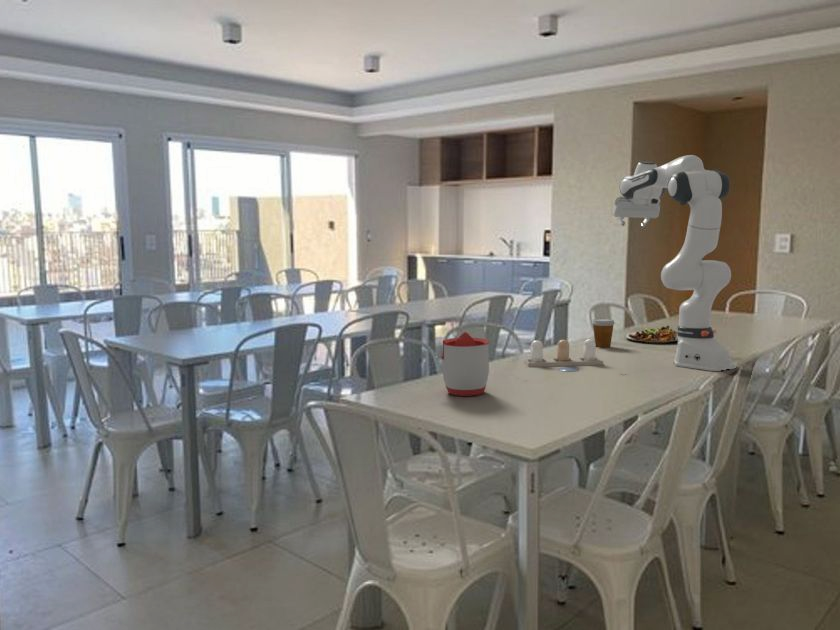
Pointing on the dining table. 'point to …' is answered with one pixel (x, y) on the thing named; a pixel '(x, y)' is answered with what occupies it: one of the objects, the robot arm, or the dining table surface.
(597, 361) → the egg tray
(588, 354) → the white rounded cylinder
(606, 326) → the disposable coffee cup
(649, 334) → the plate of food
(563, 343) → the beige rounded cylinder
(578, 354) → the dining table surface
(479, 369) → the citrus juicer
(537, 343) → the white egg
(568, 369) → the saucer
